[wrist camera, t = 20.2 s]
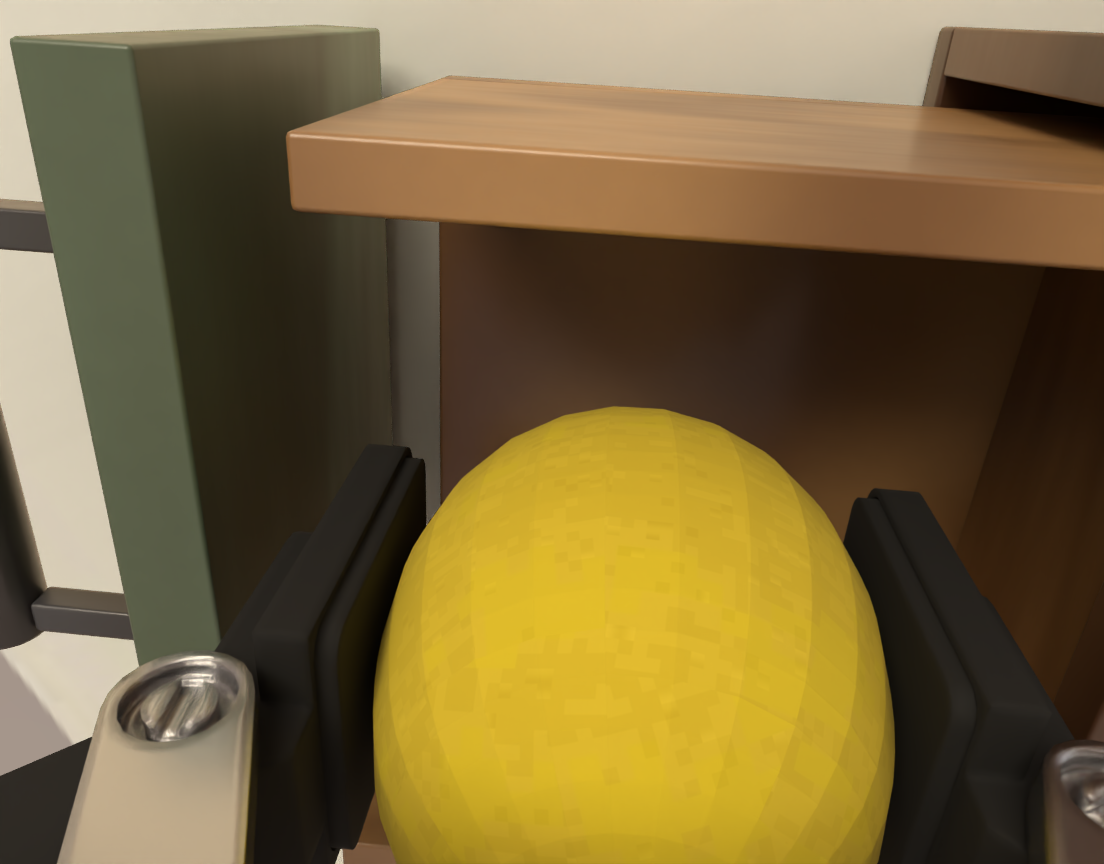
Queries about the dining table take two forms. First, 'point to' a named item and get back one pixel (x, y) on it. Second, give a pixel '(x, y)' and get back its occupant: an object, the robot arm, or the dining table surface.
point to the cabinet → (1056, 89)
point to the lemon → (631, 661)
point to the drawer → (548, 305)
